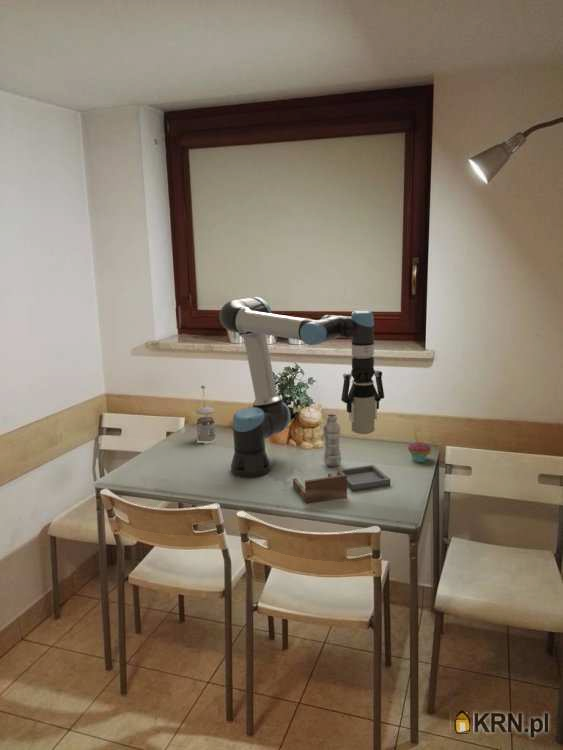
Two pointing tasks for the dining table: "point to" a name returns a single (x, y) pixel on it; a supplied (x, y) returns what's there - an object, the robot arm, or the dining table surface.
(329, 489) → the walnut dock
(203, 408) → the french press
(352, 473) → the charcoal tray
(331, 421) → the metal bottle
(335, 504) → the dining table surface
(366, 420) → the travel mug
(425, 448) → the cupcake
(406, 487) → the dining table surface
